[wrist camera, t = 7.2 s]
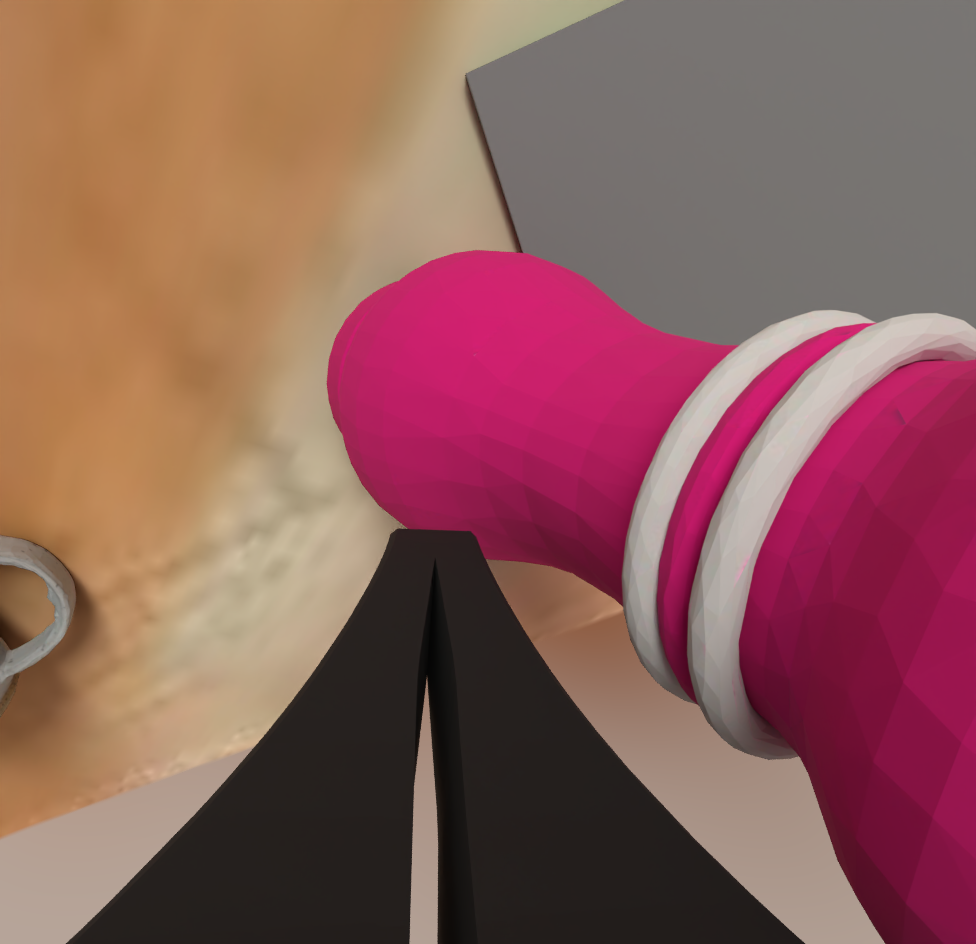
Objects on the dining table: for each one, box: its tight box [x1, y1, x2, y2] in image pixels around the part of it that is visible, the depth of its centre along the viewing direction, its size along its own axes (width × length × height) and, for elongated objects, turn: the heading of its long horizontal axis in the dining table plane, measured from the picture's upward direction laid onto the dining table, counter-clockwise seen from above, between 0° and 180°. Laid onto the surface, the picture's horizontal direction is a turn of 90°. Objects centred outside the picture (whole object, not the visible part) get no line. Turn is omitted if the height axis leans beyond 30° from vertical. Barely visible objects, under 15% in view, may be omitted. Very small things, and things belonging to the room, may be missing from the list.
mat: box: [465, 0, 976, 345], centre depth 16 cm, size 20×14×1 cm
